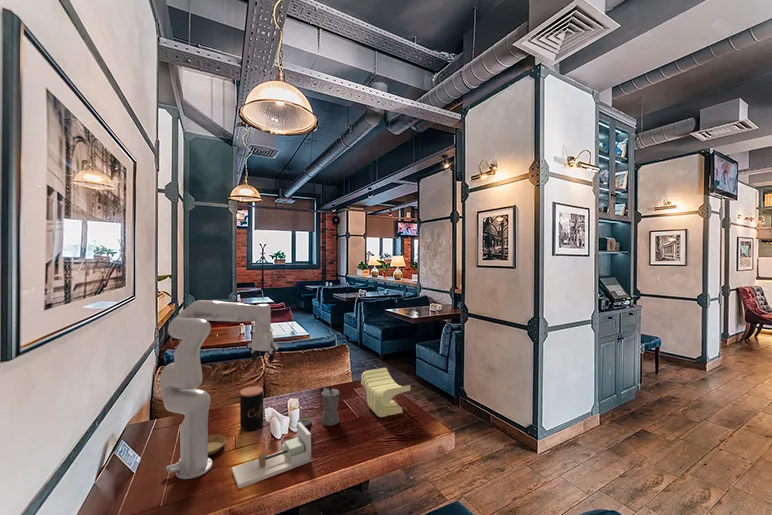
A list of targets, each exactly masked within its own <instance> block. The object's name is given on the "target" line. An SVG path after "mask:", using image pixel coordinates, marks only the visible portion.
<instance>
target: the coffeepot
mask: <svg viewBox="0 0 772 515" xmlns="http://www.w3.org/2000/svg"><path fill="white" fill-rule="evenodd" d="M319 391H320V397H321V402H322V405H323V408H322V409H323V410H322V415H321V424H322V425H324V426H327V427H329V426H330V427H332V426H335V425H338V424H339V422H340V417H339V416H340V415H339V411H338V405H339V397H340V391H339V389H336V388H333V387H332V386H328V388H327V387H324V386H323V387H321V388H320V390H319Z"/></svg>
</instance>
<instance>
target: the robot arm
mask: <svg viewBox="0 0 772 515" xmlns="http://www.w3.org/2000/svg"><path fill="white" fill-rule="evenodd" d="M271 311H272V310H271V304H268V303H259V304H256V305H254V304H245V303H241V302H231V301H221V300H207V299H199V300H195V301H194V302H192V303H191V304H190V305H188V306H187V307H186V308H185V309H183V310H182V311H181V312H180V313H178V315H176V316H175V317H174V318H172V320H171V321H170V323H169V324H168V326H167V333H168V335H169V336H170V337H172V338H173V339H175V340H176V339H177V340H181V341H180V342H179V344H178V345H177V347H175V351H174V353H173V359H174V362H171V363H168V364H167V365H165V366H164V368H163V369H162V370H161V373H160V376H159V385H160V386H159V388H160V391H161V392H160V393H161V398H162V402H163V406H164V408H165V410H166V411H168V412H171V413H175V414H180V415H184V418H183V420H182V422H181V423H180V430H179V436H180V439H179V440H180V441H179V442H180V443H179V444H180V445H179V448H180V452H179V454H180V455H179V456H180V458H179V459H178V461H177V462H175V463H174V464H169V465H167V466H166V472H170V474H173V473H175V476H176V477H177V478H178V479H180V480H191V479H195V478H198V477H201V476H202V475H204V474H206V473H208V471H209V470H211V468H212V467H213V460H212V459H211V458H210V457H209V455H208V436H209V431H208V430H209V428H208V425H209V423H208V422H209V410H210V405H211V396H210V394H209V393H208V392H207V391H206V390H203V389H199V388H198V387H200V385H201V384H202V382H203V370H202V364H201V355H200V353H201V352H200V350H201V347H202V345H203V344H204V343H205V340H207V338H208V337H209V334H210V333H211V330H212V329H211V328H212V325H211V323H210V322H209V321H212V322H213V321H214V322H239V323H240V322H254V325H253V329H254V330H253V332H252V338H251V342H248V343H247V347H248V350H249V351H250V353H251V360H252V362H255V361H256V360H257V359H258V351H259V352H268V353H269V356H268V358H269V359H268V360H269V363H272V362H274V360H275V353H276V352H277V351H278V349H279V344H277V343H276V342H274V337H273V336H274V335H273V331H272V328H271V323H272V322H271V321H272V320H271V313H272V312H271Z"/></svg>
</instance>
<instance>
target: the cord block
mask: <svg viewBox="0 0 772 515" xmlns="http://www.w3.org/2000/svg"><path fill="white" fill-rule="evenodd" d="M283 442H284V443H283V444H284V451H283V450H281V451H282V452H280V451H278V452H279V453H277V452H275V453H276V454H274V453H272V454H273V455H271V454H270V455H271V456H268V455H266V454H265V452H262V453H259V454H258V459H259V466H260V467H263V466H266V460H267V459H270V458H273V457H276V456H279V455H282V454H285V455H286V456H287V458H288V459H289V461H291V457H292V456H295V455H298V454H300V453H303V452H304V444H303V442H302V441H301V440H300V439H299V437H297V436H296V437H293V438H291V439H287V440H285V441H283ZM266 456H268V457H266Z"/></svg>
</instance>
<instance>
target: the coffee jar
mask: <svg viewBox="0 0 772 515" xmlns="http://www.w3.org/2000/svg"><path fill="white" fill-rule="evenodd" d="M239 393H240V396H239V398H240V399H239V407H240V408H239V411H240V412H239V417H240V419H239V421H240V422H239V424H240V426H239V427H240V429H241V430H242V431H244V432H253V431H257V430H259V429H260V428H261V427H262V425H263V424H264V389H263V387H262V386H257V385H256V386H254V385H253V386H247V387H245V388H243V389H241V390H240V392H239Z"/></svg>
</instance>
